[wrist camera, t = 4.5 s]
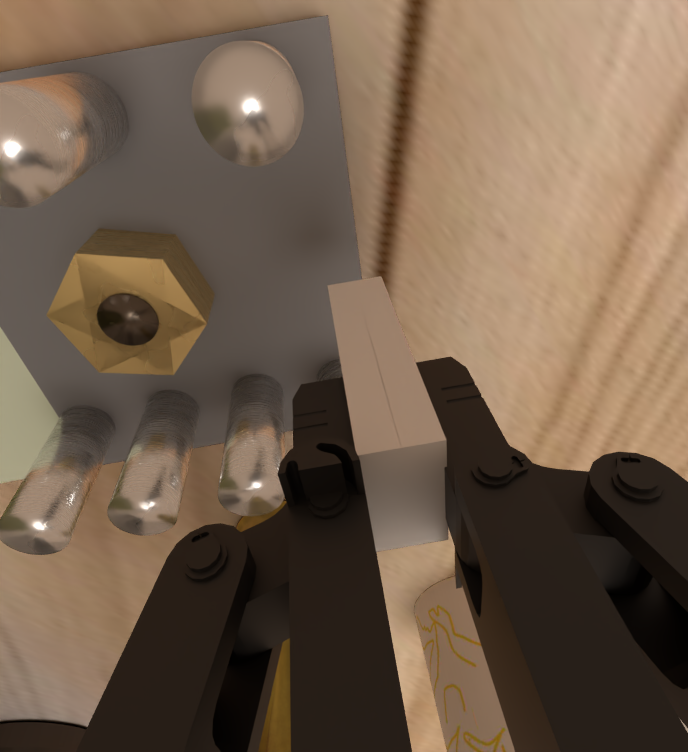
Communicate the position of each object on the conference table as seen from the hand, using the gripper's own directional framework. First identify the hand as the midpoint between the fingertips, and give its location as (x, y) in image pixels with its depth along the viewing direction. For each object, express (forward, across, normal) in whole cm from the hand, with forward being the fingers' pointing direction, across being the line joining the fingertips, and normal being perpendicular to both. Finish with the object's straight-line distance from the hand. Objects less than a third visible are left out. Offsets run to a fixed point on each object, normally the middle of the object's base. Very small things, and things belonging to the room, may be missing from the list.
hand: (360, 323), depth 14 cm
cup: (+8, +6, -32) cm, 33 cm away
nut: (+6, -8, 0) cm, 10 cm away
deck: (+8, -10, -1) cm, 13 cm away
